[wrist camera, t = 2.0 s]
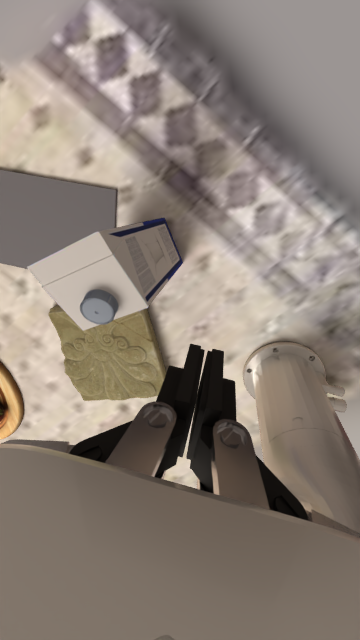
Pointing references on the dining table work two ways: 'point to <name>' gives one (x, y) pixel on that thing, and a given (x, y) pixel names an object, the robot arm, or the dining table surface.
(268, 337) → the dining table surface
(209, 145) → the dining table surface
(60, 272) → the milk carton
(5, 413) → the wooden plate with food
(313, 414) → the robot arm
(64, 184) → the mat
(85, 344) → the decorative tile
